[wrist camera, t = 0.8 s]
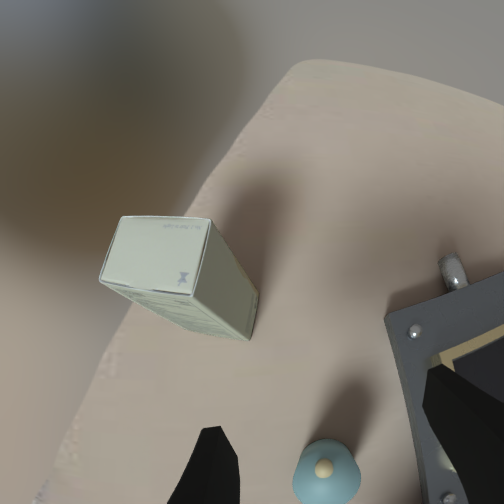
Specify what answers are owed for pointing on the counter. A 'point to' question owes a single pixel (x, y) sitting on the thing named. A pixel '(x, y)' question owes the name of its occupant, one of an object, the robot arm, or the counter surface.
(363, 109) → the counter surface
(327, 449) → the spout can
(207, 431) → the robot arm
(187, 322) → the skincare box
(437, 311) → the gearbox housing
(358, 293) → the counter surface
